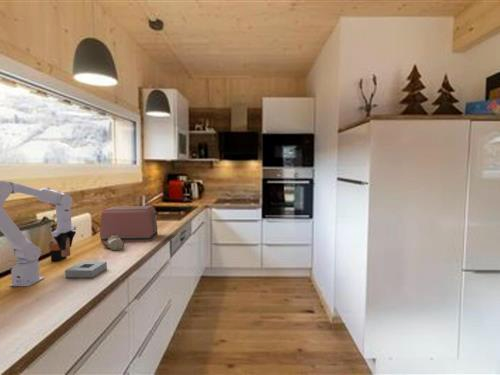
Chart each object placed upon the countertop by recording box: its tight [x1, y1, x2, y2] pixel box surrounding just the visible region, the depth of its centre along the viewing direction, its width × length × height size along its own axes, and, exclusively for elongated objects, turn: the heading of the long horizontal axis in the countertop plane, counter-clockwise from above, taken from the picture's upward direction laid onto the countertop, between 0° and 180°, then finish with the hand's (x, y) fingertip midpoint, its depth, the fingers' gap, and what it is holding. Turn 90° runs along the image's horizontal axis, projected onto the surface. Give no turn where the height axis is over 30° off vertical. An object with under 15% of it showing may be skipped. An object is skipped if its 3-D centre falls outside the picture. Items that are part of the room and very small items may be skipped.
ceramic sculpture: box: [102, 234, 124, 251], centre depth 182 cm, size 11×9×15 cm
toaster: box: [99, 205, 158, 244], centre depth 204 cm, size 19×34×20 cm, turn 92°
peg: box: [61, 238, 71, 258], centre depth 144 cm, size 4×4×8 cm
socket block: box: [64, 261, 108, 280], centre depth 140 cm, size 12×12×4 cm
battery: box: [49, 240, 68, 262], centre depth 162 cm, size 4×7×10 cm, turn 0°
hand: (65, 248), depth 144 cm, fingers closed on peg, 3 cm apart
